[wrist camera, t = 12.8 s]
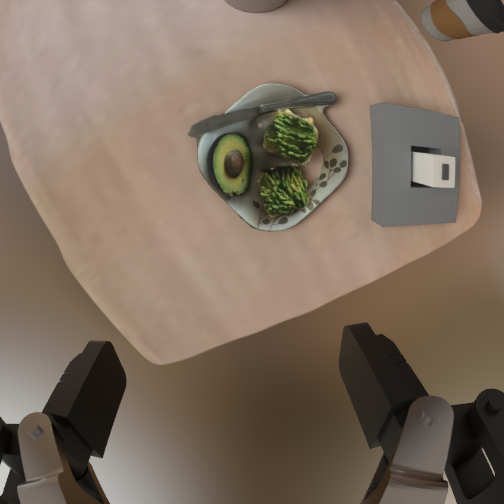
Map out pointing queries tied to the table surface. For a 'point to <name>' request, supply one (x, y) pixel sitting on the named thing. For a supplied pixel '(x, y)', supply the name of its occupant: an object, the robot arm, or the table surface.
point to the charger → (433, 169)
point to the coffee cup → (463, 18)
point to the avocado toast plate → (271, 155)
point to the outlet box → (399, 165)
